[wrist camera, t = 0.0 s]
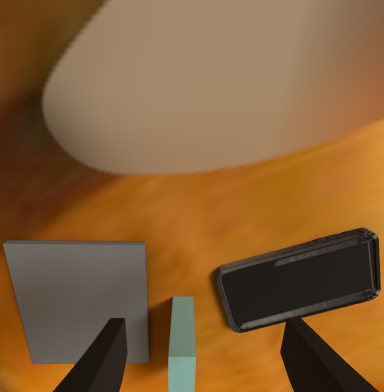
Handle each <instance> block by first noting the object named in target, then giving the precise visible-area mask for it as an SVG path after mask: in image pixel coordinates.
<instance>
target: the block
mask: <svg viewBox="0 0 384 392" xmlns="http://www.w3.org/2000/svg"><path fill="white" fill-rule="evenodd" d="M195 367H196V346H195V323H194V300H193V297H176V296H173V304H172V317H171V329H170V342H169V354H168V392H194V388H195Z"/></svg>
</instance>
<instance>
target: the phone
mask: <svg viewBox="0 0 384 392" xmlns="http://www.w3.org/2000/svg"><path fill="white" fill-rule="evenodd" d="M215 279H216V283H217V287H218V290H219V293H220V296H221V299H222V303H223V306H224V309H225V312H226V315H227V319H228V322H229V325H230V328H231V329H232V330H233V331H234V332H237V333H243V332H248V331H251V330H255V329H259V328H263V327H267V326H271V325H275V324H279V323H283V322H286V320H287V318H303V317H307V316H311V315H315V314H319V313H323V312H327V311H331V310H335V309H339V308H343V307H347V306H351V305H355V304H359V303H363V302H367V301H370V300H373V299H374V298H376V297H377V296H378V295H379V293H380V290H381V283H380V260H379V239H378V236H377V235H376V234H375V233H373V232H372V231H370V230H368V229H366V228H358V229H354V230H351V231H347V232H343V233H340V234H336V235H332V236H328V237H325V238H320V239H317V240H314V241H310V242H306V243H302V244H299V245H295V246H291V247H288V248H284V249H280V250H277V251H273V252H269V253H265V254H262V255H258V256H254V257H251V258H247V259H243V260H239V261H236V262H232V263H228V264H225V265H222V266H220V267H219V268H218V269H217V270H216V272H215Z"/></svg>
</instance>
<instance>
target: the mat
mask: <svg viewBox="0 0 384 392" xmlns="http://www.w3.org/2000/svg"><path fill="white" fill-rule="evenodd" d="M3 247H4V251H5V255H6V259H7V263H8V267H9V271H10V275H11V279H12V283H13V287H14V291H15V295H16V300H17V304H18V308H19V312H20V316H21V320H22V324H23V328H24V332H25V336H26V340H27V344H28V348H29V352H30V356H31V360H32V364H76V363H77V362H78V361H79V359H80V358H81V357H82V355H83V354H84V353H85V352H86V350H87V349H88V348H89V346H90V345H91V344H92V342H93V341H94V340H95V338H96V337H97V336H98V334H99V333H100V332H101V330H102V329H103V327H104V326H105V324H106V323H107V322H108V320H109V319H110V318H125V322H126V336H127V349H128V355H127V360H126V363H149V359H150V352H149V325H148V297H147V270H146V242H115V241H33V240H8V241H6V242H4V243H3Z"/></svg>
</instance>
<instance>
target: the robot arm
mask: <svg viewBox="0 0 384 392" xmlns="http://www.w3.org/2000/svg"><path fill="white" fill-rule="evenodd" d="M280 353H281V356H282V359H283V362H284V366H285V369H286V372H287V375H288V378H289V380H290V383H291V385H292V388H293V390H294V392H379V391H378V390H377V389H375V388H374V387H373V386H372V385H371V384H370V383H369V382H367V381H366V380H365V379H364V378H363V377H362V376H361V375H360V374H359V373H357V372H356V371H355V370H354V369H353V368H352V367H351V366H350V365H349V364H348V363H347V362H346V361H345V360H343V359H342V358H341V357H340V356H339V355H338V354H337V353H336V352H335V351H334V350H333V349H332V348H331V347H330V346H329V345H328V344H327V343H326V342H325V341H324V340H323V339H322V338H321V337H320V336H319V335H318V334H317V333H316V332H315V331H314V330H313V329H312V328H311V327H310V326H308V325H307V324H306V323H305V322H304V321H303V320H302V319H301V318H287V320H286V326H285V331H284V336H283V341H282V346H281V351H280ZM127 355H128V349H127V336H126V322H125V318H110V319H109V320H108V322H107V323H106V324H105V326H104V327H103V329H102V330H101V332H100V333H99V334H98V336H97V337H96V338H95V340H94V341H93V342H92V344H91V345H90V346H89V348H88V349H87V350H86V352H85V353H84V354H83V355H82V357H81V358H80V359H79V361H78V362H77V363H76V364H75V366H74V367H73V368H72V369H71V371H70V372H69V373H68V374H67V376H66V377H65V378H64V379H63V380H62V381H61V383H60V384H59V385H58V386H57V387H56V388H55V390H54V391H53V392H119V390H120V387H121V383H122V379H123V374H124V370H125V365H126V360H127Z"/></svg>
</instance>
